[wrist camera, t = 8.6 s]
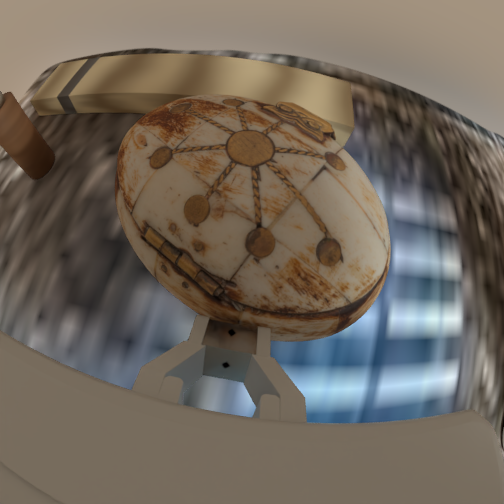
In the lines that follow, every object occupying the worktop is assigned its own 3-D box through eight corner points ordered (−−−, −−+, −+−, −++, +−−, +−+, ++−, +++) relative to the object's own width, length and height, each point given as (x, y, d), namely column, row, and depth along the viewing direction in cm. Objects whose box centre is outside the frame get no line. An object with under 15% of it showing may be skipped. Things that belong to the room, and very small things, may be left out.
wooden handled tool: (60, 151, 19) (-2, 53, 7) (45, 180, 18) (-32, 86, 6) (39, 150, 18) (-22, 63, 7) (24, 178, 18) (-48, 95, 6)
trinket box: (354, 342, 16) (435, 338, 9) (114, 321, 15) (38, 304, 8) (346, 161, 20) (390, 91, 13) (154, 141, 19) (131, 61, 12)
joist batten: (341, 101, 22) (350, 83, 20) (343, 147, 21) (354, 127, 18) (67, 78, 22) (60, 63, 19) (39, 115, 20) (30, 101, 17)
